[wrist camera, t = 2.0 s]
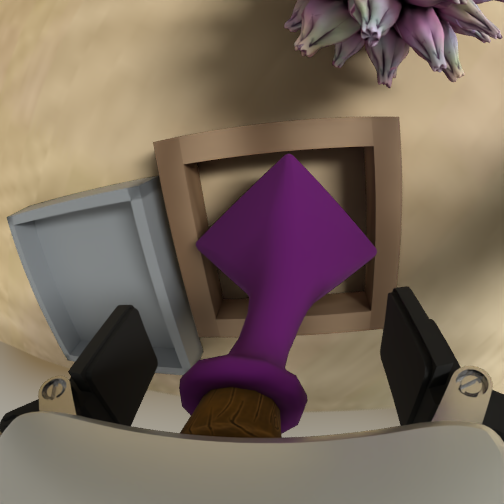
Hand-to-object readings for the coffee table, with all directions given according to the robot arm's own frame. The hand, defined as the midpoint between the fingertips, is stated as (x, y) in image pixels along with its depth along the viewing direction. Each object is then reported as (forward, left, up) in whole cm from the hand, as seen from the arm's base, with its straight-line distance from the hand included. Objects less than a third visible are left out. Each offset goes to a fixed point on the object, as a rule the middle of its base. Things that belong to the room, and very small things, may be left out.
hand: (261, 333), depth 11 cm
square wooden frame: (-1, 0, -10) cm, 10 cm away
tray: (+14, +3, -10) cm, 18 cm away
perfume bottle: (-1, 0, -11) cm, 11 cm away
